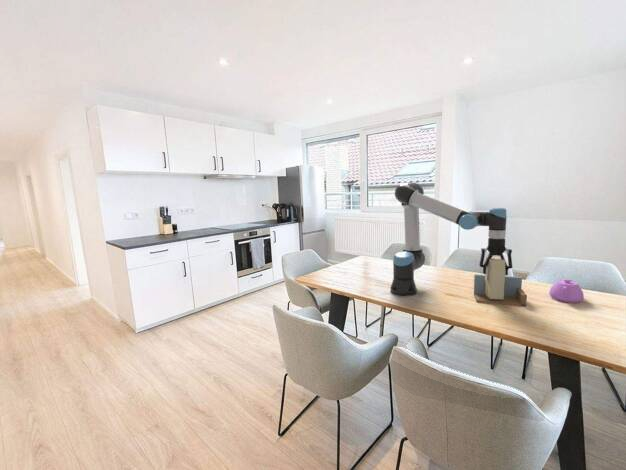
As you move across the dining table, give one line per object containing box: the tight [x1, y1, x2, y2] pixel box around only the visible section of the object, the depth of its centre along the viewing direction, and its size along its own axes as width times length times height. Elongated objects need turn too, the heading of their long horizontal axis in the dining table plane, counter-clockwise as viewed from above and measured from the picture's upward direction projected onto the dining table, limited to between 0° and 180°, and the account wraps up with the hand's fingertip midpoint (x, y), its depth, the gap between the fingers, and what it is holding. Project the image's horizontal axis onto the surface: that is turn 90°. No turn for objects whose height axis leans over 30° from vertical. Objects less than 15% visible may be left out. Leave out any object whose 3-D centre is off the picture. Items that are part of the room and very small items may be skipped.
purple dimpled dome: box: [548, 278, 585, 304], centre depth 154 cm, size 14×20×11 cm
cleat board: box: [473, 273, 528, 308], centre depth 156 cm, size 22×12×12 cm, turn 68°
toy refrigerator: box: [485, 256, 506, 299], centre depth 155 cm, size 8×7×21 cm
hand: (494, 280), depth 155 cm, fingers closed on toy refrigerator, 7 cm apart
